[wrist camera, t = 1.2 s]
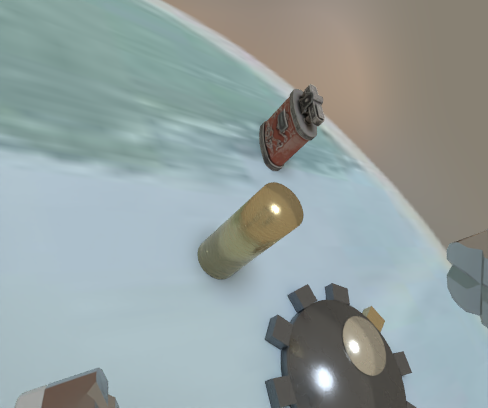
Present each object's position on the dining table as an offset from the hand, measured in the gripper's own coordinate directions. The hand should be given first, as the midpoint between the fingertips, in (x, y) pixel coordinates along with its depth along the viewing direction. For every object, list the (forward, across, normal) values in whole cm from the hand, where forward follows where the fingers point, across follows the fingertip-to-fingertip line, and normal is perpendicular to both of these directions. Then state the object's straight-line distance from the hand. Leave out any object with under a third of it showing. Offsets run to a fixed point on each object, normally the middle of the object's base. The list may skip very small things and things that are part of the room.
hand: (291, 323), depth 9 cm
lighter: (+46, -14, +11) cm, 50 cm away
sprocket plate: (+23, -10, +30) cm, 39 cm away
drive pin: (+30, -2, +15) cm, 34 cm away
